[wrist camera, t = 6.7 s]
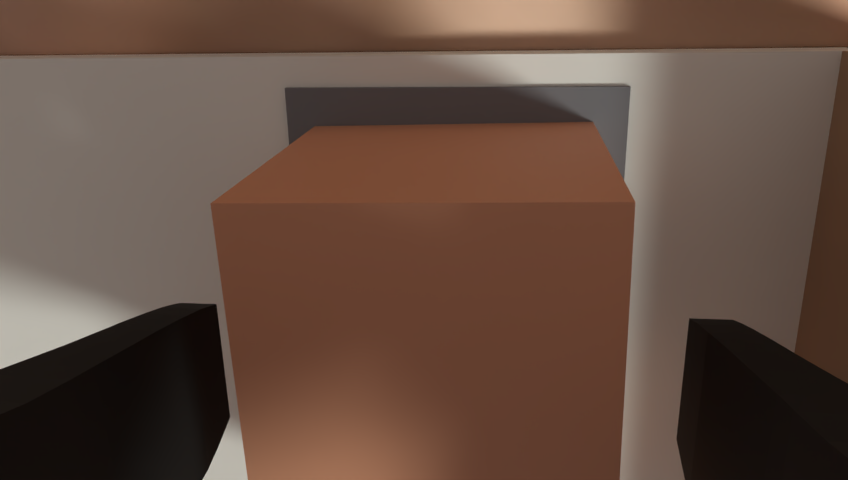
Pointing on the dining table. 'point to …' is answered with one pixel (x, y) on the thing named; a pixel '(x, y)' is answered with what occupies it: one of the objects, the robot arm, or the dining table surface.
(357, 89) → the pad
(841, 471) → the robot arm
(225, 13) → the dining table surface
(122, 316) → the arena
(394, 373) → the bar
